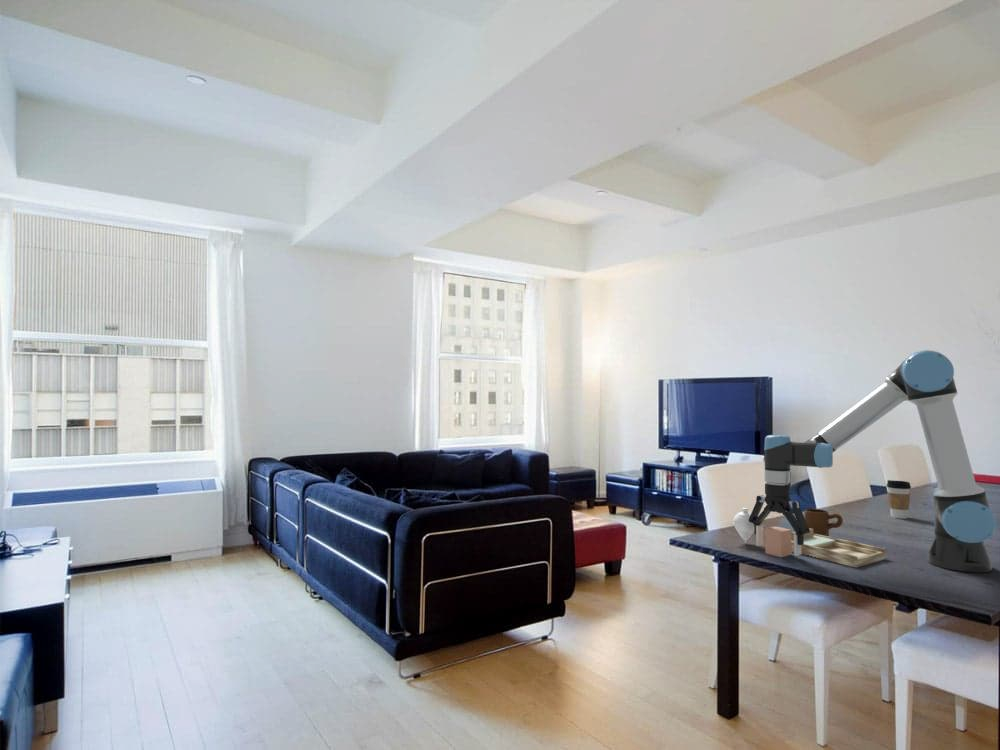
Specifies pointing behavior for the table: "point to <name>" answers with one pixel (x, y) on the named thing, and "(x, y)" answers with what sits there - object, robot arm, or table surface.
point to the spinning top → (743, 524)
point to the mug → (821, 521)
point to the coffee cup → (899, 498)
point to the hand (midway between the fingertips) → (778, 550)
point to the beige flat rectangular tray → (844, 552)
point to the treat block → (778, 541)
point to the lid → (813, 539)
